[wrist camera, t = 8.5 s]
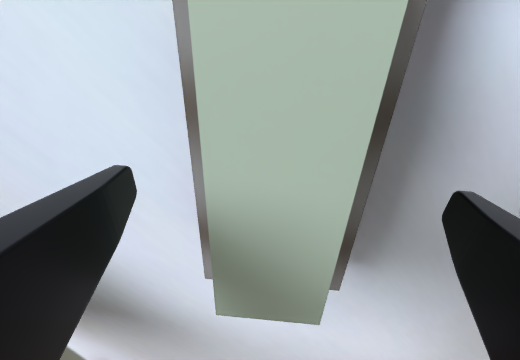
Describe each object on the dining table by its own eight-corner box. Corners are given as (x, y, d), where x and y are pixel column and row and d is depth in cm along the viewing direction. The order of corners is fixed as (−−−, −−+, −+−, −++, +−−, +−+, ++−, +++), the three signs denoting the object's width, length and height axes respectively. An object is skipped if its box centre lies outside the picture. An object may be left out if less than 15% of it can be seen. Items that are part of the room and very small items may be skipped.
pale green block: (310, 205, 18) (319, 324, 12) (240, 200, 18) (215, 314, 12) (356, -64, 10) (431, -88, 5) (238, -68, 11) (178, -96, 5)
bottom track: (341, 245, 21) (349, 291, 18) (208, 234, 21) (194, 277, 18) (472, -235, 9) (557, -325, 6) (162, -238, 9) (106, -323, 6)
